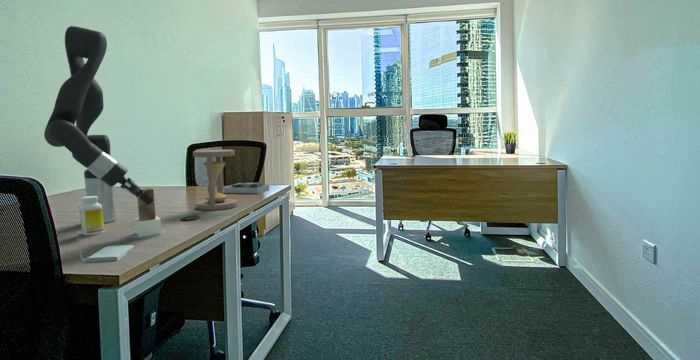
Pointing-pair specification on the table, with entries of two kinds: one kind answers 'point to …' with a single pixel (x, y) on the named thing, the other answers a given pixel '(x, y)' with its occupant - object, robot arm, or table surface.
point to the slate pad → (134, 235)
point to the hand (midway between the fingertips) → (148, 200)
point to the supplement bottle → (91, 216)
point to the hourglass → (215, 170)
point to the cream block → (148, 227)
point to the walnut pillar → (146, 206)
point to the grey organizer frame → (246, 189)
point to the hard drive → (110, 253)
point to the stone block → (248, 185)
